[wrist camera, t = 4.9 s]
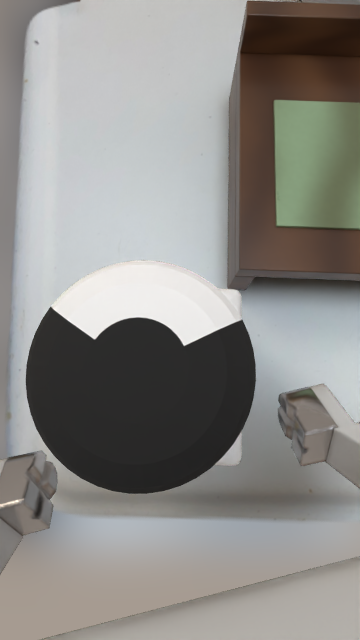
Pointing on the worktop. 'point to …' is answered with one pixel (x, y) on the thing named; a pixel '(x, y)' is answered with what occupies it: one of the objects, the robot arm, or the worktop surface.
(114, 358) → the medicine bottle
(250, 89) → the shelf
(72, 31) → the worktop surface
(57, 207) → the worktop surface
